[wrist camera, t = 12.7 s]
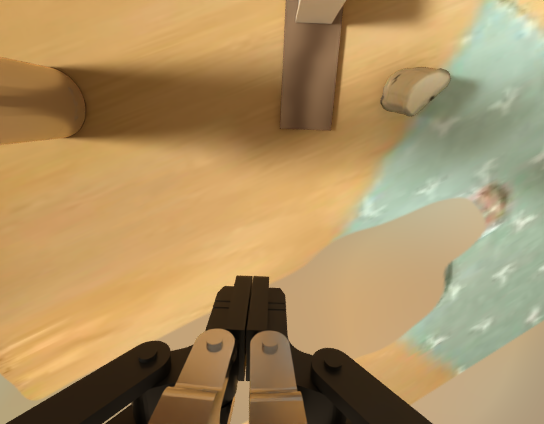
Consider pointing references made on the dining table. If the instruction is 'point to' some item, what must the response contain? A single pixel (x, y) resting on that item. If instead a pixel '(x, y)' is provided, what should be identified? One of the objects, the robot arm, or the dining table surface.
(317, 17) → the grey square block
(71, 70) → the dining table surface
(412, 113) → the beige rounded block
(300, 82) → the rail
